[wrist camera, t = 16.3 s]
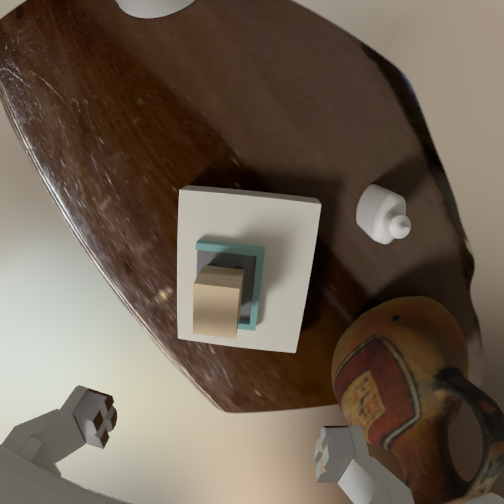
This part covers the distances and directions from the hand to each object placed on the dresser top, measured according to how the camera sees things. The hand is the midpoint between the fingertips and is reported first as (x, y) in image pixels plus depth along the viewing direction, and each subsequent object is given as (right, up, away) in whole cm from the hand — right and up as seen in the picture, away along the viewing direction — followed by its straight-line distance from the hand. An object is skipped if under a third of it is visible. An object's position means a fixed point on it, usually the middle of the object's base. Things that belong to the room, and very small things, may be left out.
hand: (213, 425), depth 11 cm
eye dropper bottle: (+16, +12, +28) cm, 35 cm away
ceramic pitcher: (+22, -7, +34) cm, 42 cm away
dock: (+1, +5, +31) cm, 32 cm away
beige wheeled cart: (-2, +3, +28) cm, 28 cm away
